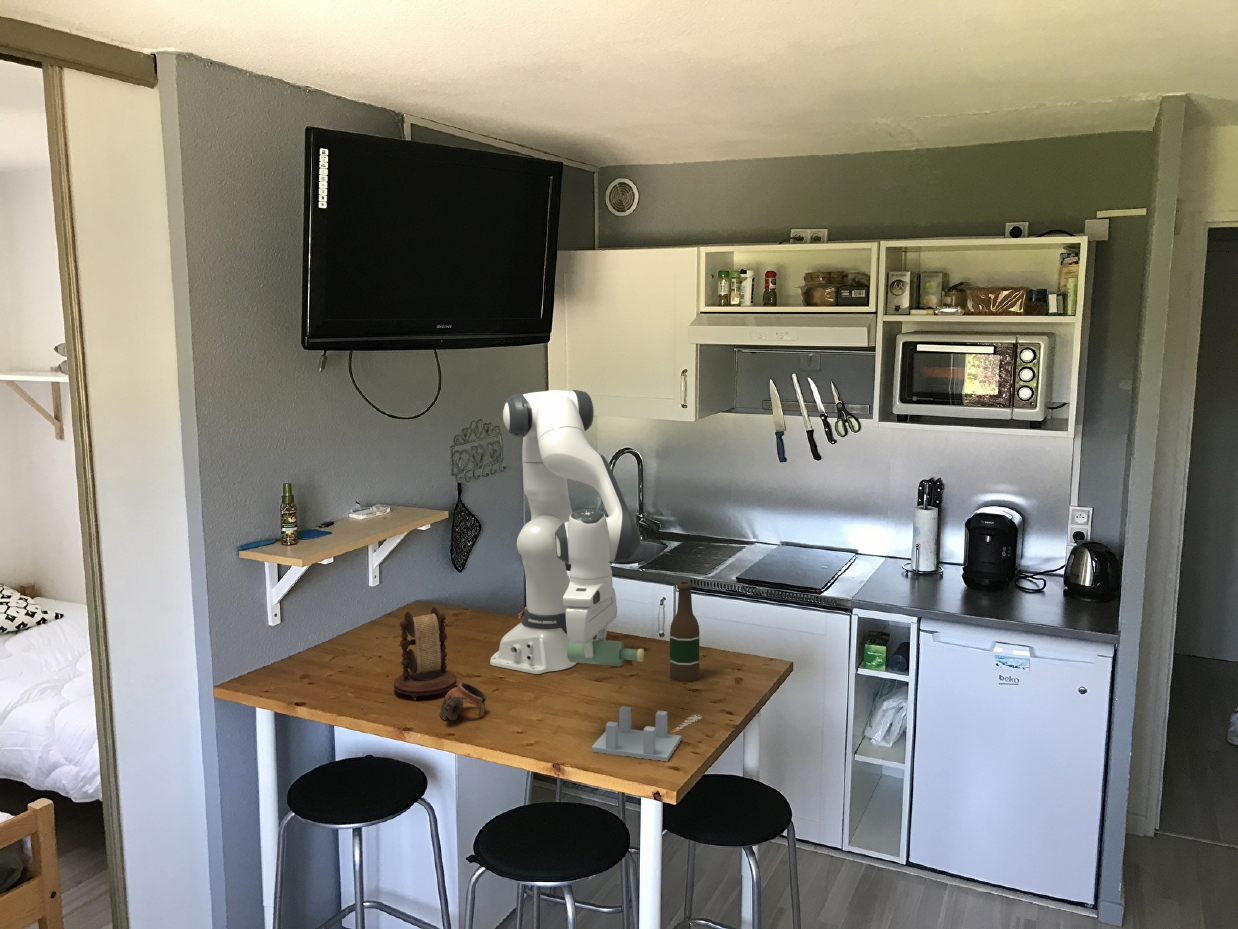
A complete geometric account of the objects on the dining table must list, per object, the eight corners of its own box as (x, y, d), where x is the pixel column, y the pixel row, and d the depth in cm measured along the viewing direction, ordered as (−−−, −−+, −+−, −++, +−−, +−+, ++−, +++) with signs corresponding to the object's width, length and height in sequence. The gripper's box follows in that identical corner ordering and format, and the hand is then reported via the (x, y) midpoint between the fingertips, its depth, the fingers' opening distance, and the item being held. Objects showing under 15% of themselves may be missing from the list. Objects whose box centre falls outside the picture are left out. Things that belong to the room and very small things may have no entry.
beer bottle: (663, 679, 243) (663, 584, 240) (676, 669, 250) (676, 577, 247) (692, 684, 240) (693, 588, 236) (705, 674, 246) (705, 580, 243)
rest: (591, 751, 202) (591, 723, 202) (609, 731, 213) (609, 704, 212) (667, 762, 197) (667, 733, 197) (681, 740, 208) (681, 713, 207)
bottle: (567, 665, 208) (566, 642, 208) (576, 657, 213) (575, 635, 213) (639, 670, 203) (638, 647, 203) (646, 663, 208) (645, 640, 207)
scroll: (407, 706, 227) (404, 622, 225) (385, 687, 240) (381, 607, 237) (466, 693, 235) (464, 611, 233) (441, 675, 248) (439, 597, 245)
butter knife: (704, 716, 220) (693, 713, 222) (646, 755, 200) (634, 752, 202) (704, 718, 220) (693, 715, 222) (646, 757, 200) (634, 754, 202)
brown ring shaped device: (445, 708, 227) (462, 677, 227) (478, 731, 225) (496, 699, 225) (424, 715, 216) (443, 682, 216) (459, 739, 213) (478, 705, 213)
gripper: (595, 575, 218) (598, 636, 219) (559, 600, 199) (563, 666, 200) (622, 576, 216) (625, 637, 217) (588, 601, 196) (592, 668, 198)
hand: (595, 651), depth 209 cm, fingers closed on bottle, 5 cm apart
